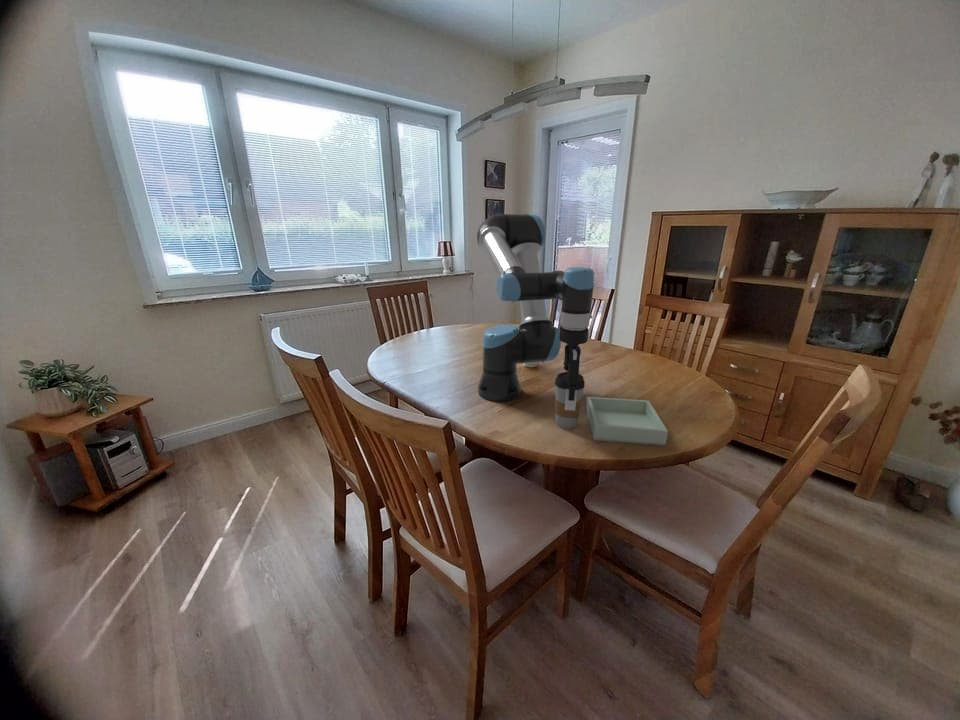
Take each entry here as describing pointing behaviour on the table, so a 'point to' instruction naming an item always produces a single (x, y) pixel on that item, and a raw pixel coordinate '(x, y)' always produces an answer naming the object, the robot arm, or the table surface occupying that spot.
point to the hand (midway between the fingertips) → (568, 399)
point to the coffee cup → (561, 415)
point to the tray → (625, 421)
